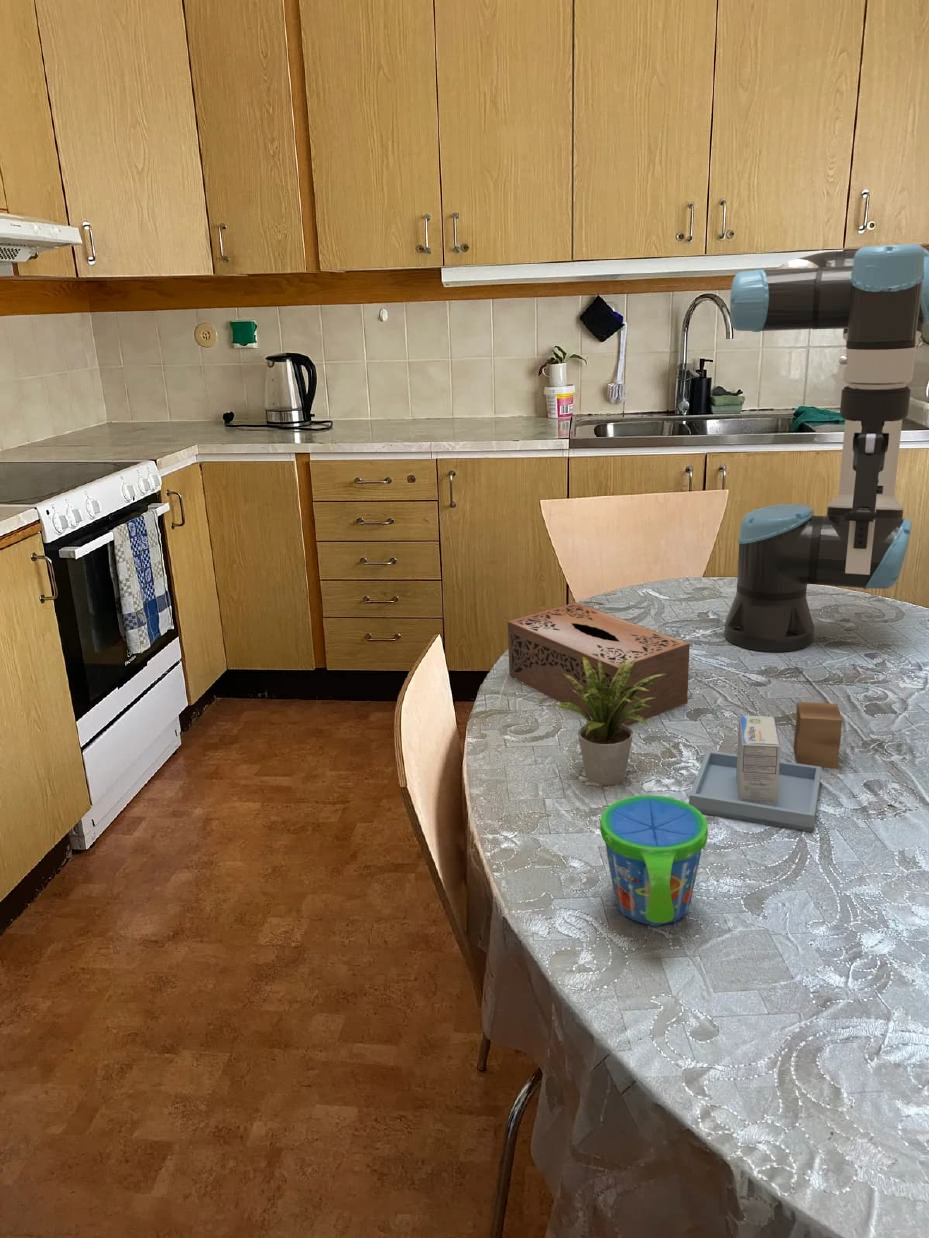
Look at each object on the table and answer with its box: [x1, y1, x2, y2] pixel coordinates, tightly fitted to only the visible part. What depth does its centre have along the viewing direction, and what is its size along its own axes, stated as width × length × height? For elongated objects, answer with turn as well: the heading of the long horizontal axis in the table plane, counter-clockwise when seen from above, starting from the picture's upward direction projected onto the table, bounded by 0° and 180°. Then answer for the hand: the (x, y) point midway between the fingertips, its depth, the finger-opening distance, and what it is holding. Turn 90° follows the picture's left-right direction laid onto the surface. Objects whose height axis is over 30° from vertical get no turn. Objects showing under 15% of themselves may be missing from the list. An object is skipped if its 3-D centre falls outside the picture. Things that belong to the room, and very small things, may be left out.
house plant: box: [556, 657, 665, 786], centre depth 119 cm, size 14×14×16 cm
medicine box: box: [736, 715, 781, 807], centre depth 115 cm, size 8×4×9 cm, turn 167°
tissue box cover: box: [507, 602, 690, 727], centre depth 147 cm, size 26×14×10 cm, turn 34°
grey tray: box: [688, 749, 823, 833], centre depth 116 cm, size 12×14×2 cm
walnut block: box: [792, 701, 843, 770], centre depth 124 cm, size 5×5×7 cm
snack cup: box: [599, 794, 709, 927], centre depth 95 cm, size 16×10×10 cm
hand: (859, 558), depth 118 cm, fingers open, 13 cm apart
